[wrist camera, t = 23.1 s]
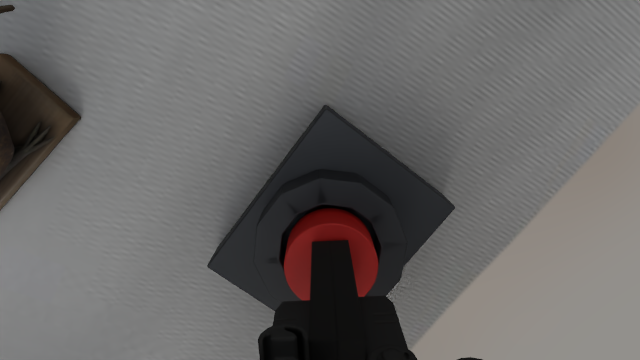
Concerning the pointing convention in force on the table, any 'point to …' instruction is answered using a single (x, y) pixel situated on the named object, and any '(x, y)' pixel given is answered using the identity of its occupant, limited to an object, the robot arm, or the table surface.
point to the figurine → (26, 123)
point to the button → (329, 228)
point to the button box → (331, 192)
